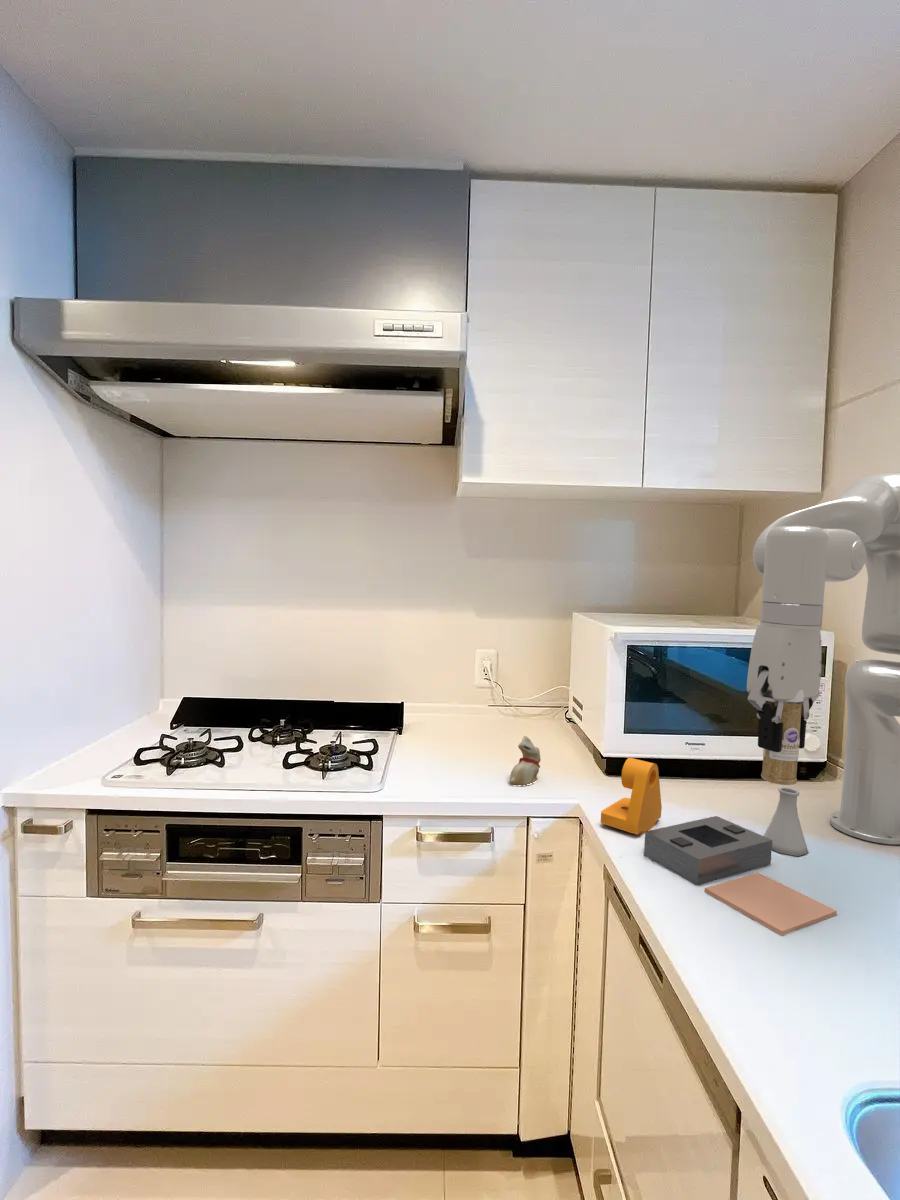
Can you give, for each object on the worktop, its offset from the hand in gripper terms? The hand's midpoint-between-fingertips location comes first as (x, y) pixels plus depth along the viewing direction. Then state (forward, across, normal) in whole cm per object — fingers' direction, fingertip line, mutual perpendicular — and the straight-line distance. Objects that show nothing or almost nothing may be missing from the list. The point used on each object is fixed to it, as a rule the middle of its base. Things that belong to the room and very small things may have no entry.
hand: (781, 746), depth 89 cm
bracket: (+23, -2, -29) cm, 37 cm away
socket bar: (+22, -3, -13) cm, 26 cm away
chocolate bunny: (+23, +3, -55) cm, 60 cm away
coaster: (+22, 0, 0) cm, 22 cm away
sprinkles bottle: (+5, 0, 0) cm, 5 cm away
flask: (+23, -20, -11) cm, 32 cm away
